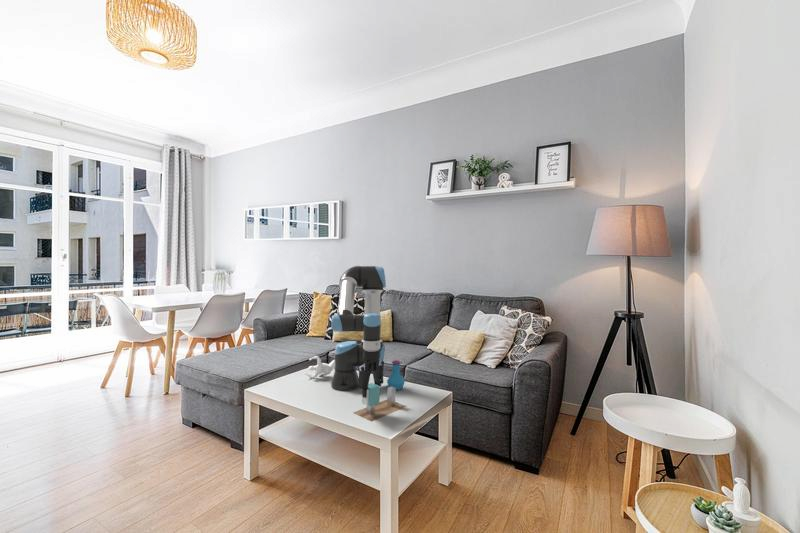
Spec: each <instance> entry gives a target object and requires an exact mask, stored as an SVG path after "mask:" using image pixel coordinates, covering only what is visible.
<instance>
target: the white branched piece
mask: <svg viewBox="0 0 800 533" xmlns="http://www.w3.org/2000/svg"><path fill="white" fill-rule="evenodd" d="M315 359H316V361H317V363H316V364H317V365H316V366H315V365H310V366H308V370H309V371H311V372H313V371H315V372H314V374H312V375H311V374H309V373H308V372H305V373H304V375H306V376H308V378H310V379H314V378H317V377H318V376H319V375H322V376H325V375H331V373H332V371H334V370H335V359H333V360H332V361H331V362H329V364H327V363H322V359H321V358H320V355H319V356H318V355H314V356H313V357H310V358H309V359H308V360H309V361H312V360H315Z"/></svg>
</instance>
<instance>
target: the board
mask: <svg viewBox="0 0 800 533" xmlns="http://www.w3.org/2000/svg"><path fill="white" fill-rule="evenodd" d="M406 407H407V405H405V404H402V403H399V402H396V401H395V405H394V406H392V407H391V406H389V405H387V399H385V400H382V401H379V403H378V404H376V405H375V414H372V415H369V414H367V413H366V409H367V406H365V408H362V409H359V410H357V411H354V412H353V414H355V415H357V416H359V417H361V418H363V419H366V420H367V421H370V422H374V421H376V420H378V419H381V418H383V417H385V416H388V415H390V414H392V413H394V412H397V411H399V410H401V409H404V408H406Z"/></svg>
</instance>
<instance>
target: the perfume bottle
mask: <svg viewBox="0 0 800 533" xmlns="http://www.w3.org/2000/svg"><path fill="white" fill-rule="evenodd" d="M391 363H392V373H391V374H390V376H389V377H388V379H387V380H386V382H387V386H388V388H389V387H391V386H392V387H394V388H396V391H399V390H401V389H403V388H404V385H405V382H406V381H405V379H404V377H403V376H402V375H401V373H400V369H401V367H400V365H401V361H400V360H398V359H397V360H393V361H392V362H391Z"/></svg>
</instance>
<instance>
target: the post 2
mask: <svg viewBox="0 0 800 533" xmlns="http://www.w3.org/2000/svg"><path fill="white" fill-rule="evenodd" d="M396 391H397V390H396V388H394V387H392V386H391V387H389V386H388V387H387V395H386V396H387V398H386V400H387V405H389V406H391V407H392V406H394V405H395V402H396Z"/></svg>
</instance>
